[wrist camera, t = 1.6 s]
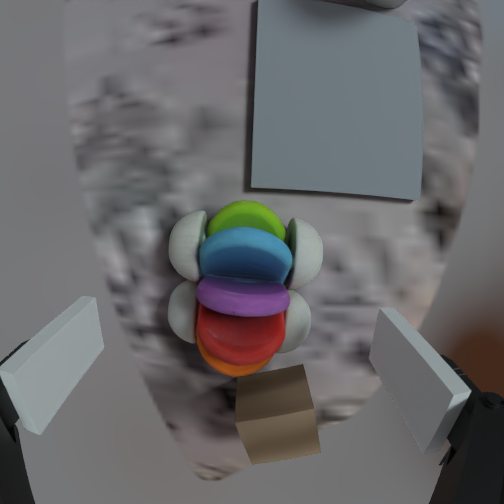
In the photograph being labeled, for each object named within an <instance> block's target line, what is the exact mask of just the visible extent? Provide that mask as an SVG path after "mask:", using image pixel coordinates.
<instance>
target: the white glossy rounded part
mask: <svg viewBox="0 0 504 504" xmlns="http://www.w3.org/2000/svg"><path fill="white" fill-rule="evenodd" d="M365 1H367V2H368V3H371V4H373V5H375V6H378V7H382V8H397V7H400V6H401V5H403V4H404V3H405V2H406V1H407V0H365Z"/></svg>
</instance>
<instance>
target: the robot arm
mask: <svg viewBox="0 0 504 504" xmlns="http://www.w3.org/2000/svg"><path fill="white" fill-rule="evenodd" d="M103 349H104V344H103V339H102V333H101V328H100V323H99V316H98V310H97V303H96V297H88V296H82V297H81V298H79V299H78V300H77V301H75V302H74V303H73V304H72V305H71V306H69V307H68V308H67V309H66V310H65V311H63V312H62V313H61V314H60V315H58V316H57V317H56V318H55V319H54V320H52V321H51V322H50V323H49V324H48V325H46V326H45V327H44V328H43V329H42V330H41V331H39V332H38V333H37V334H36V335H35V336H34V337H33V338H31V339H29V340H27V341H25V342H23V343H21V344H20V345H19V346H18V347H17V348H16V349H14V351H12V352H11V353H10V354H9V356H7V357H5V358H4V359H3V360H2V361H1V362H0V504H35V501H34V498H33V495H32V491H31V488H30V484H29V480H28V476H27V472H26V468H25V463H24V459H23V454H22V449H21V444H20V438H19V432H18V429H17V427H16V425H15V423H16V422H17V420H18V419H20V420H21V423H22V424H23V426H24V428H25V430H27V431H30V432H33V433H35V434H38V435H41V434H42V433H43V431H44V430H45V428H46V427H47V425H48V424H49V422H50V421H51V420H52V418H53V417H54V415H55V414H56V412H57V411H58V410H59V408H60V406H61V405H62V404H63V402H64V401H65V400H66V398H67V397H68V396H69V394H70V393H71V391H72V390H73V388H74V387H75V386H76V385H77V383H78V382H79V381H80V379H81V378H82V376H83V375H84V374H85V372H86V371H87V370H88V368H89V367H90V366H91V364H92V363H93V362H94V360H95V359H96V358H97V357H98V355H99V354H100V353H101V351H102V350H103ZM369 360H370V362H371V363H372V365H373V367H374V369H375V370H376V372H377V374H378V375H379V377H380V379H381V381H382V382H383V384H384V386H385V387H386V389H387V391H388V393H389V394H390V396H391V398H392V400H393V401H394V403H395V405H396V407H397V408H398V410H399V412H400V414H401V416H402V417H403V419H404V421H405V423H406V424H407V426H408V428H409V430H410V432H411V434H412V435H413V437H414V439H415V441H416V443H417V445H418V447H419V448H420V450H421V452H422V454H423V455H424V454H428V453H432V452H435V451H438V450H440V449H441V448H442V446H443V444H444V443H445V441H446V439H448V440H449V442H450V443H451V446H450V448H449V450H448V451H447V453H446V454H445V456H444V457H443V459H442V461H441V462H440V464H439V465H442V464H443V462H444V464H443V467H442V470H441V473H440V476H439V479H438V482H437V484H436V487H435V490H434V492H433V495H432V497H431V500H430V502H429V504H504V398H503V397H501V396H500V395H499V394H496V393H493V392H483V393H482V392H481V391H480V390H479V389H478V388H477V386H476V385H475V384H474V383H473V382H472V381H471V380H470V379H469V378H468V377H467V375H464V372H463V371H462V370H461V369H459V367H458V366H457V365H456V364H455V363H454V362H453V361H452V360H451V359H449V358H447V357H446V356H444V355H439V354H438V353H437V352H436V351H435V350H434V349H433V348H432V347H431V346H430V345H429V343H427V341H426V340H425V339H424V338H423V337H422V336H421V335H420V334H419V333H418V332H417V331H416V330H415V329H414V328H413V327H412V326H411V325H410V324H409V323H408V322H407V321H406V319H405V318H404V317H403V316H402V315H401V314H400V313H399V312H398V311H397V310H396V309H395V308H379V313H378V318H377V323H376V328H375V332H374V337H373V341H372V346H371V350H370V354H369Z"/></svg>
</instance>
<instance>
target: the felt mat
mask: <svg viewBox="0 0 504 504" xmlns="http://www.w3.org/2000/svg"><path fill="white" fill-rule="evenodd" d="M422 158H423V95H422V77H421V63H420V53H419V44H418V35H417V28H416V24H415V23H412V22H409V21H406V20H403V19H400V18H396V17H393V16H389V15H385V14H382V13H378V12H374V11H370V10H366V9H361V8H357V7H352V6H347V5H342V4H336V3H330V2H324V1H317V0H258V21H257V46H256V71H255V96H254V122H253V148H252V175H251V188H274V189H294V190H310V191H325V192H338V193H351V194H362V195H373V196H383V197H392V198H401V199H410V200H418V201H420V191H421V177H422Z"/></svg>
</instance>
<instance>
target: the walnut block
mask: <svg viewBox="0 0 504 504" xmlns="http://www.w3.org/2000/svg"><path fill="white" fill-rule="evenodd" d="M234 423H235V425H236V428H237V430H238V432H239V435H240V437H241V440H242V442H243V444H244V447H245V449H246V451H247V454H248V456H249V458H250V460H251V463H252V464H260V463H266V462H274V461H280V460H286V459H292V458H296V457H302V456H307V455H312V454H317V453H321V450H320V443H319V437H318V430H317V424H316V418H315V411H314V406H313V402H312V398H311V394H310V390H309V386H308V382H307V378H306V374H305V370H304V366H303V364H301V365H297V366H292V367H287V368H283V369H278V370H273V371H267V372H262V373H257V374H251V375H246V376H239V377H237V387H236V404H235V422H234Z"/></svg>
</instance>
